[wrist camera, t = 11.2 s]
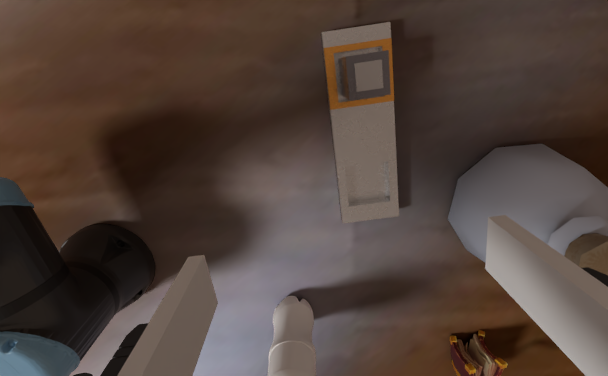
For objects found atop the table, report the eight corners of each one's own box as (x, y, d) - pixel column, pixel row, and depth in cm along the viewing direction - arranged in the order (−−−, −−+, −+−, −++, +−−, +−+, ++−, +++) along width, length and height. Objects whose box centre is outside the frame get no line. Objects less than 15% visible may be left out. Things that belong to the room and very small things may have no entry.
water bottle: (290, 284, 59) (283, 425, 36) (320, 304, 61) (334, 452, 37) (266, 309, 61) (245, 460, 37) (297, 328, 63) (295, 484, 39)
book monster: (447, 330, 63) (507, 327, 64) (440, 365, 66) (497, 362, 67) (478, 380, 53) (549, 376, 54) (468, 418, 56) (534, 414, 57)
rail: (340, 217, 55) (342, 223, 52) (320, 34, 45) (321, 32, 43) (394, 210, 54) (399, 216, 52) (385, 24, 45) (390, 21, 43)
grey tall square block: (341, 95, 47) (349, 100, 40) (338, 58, 46) (345, 56, 38) (376, 90, 47) (391, 94, 39) (373, 53, 46) (389, 49, 38)
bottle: (544, 257, 58) (653, 340, 40) (435, 249, 57) (496, 330, 39) (587, 146, 51) (740, 186, 33) (464, 135, 50) (553, 170, 33)
